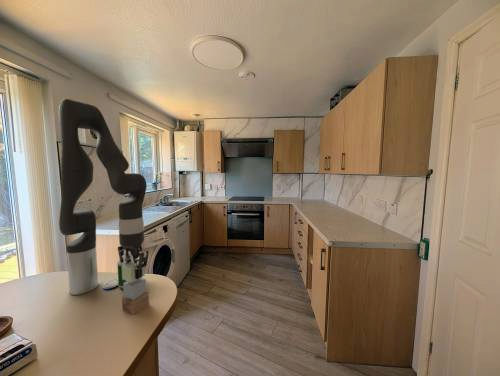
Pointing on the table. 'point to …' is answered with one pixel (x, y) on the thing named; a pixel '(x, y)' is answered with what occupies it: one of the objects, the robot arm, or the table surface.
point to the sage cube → (130, 272)
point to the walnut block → (135, 303)
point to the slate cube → (134, 288)
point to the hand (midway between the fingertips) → (133, 276)
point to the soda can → (121, 274)
